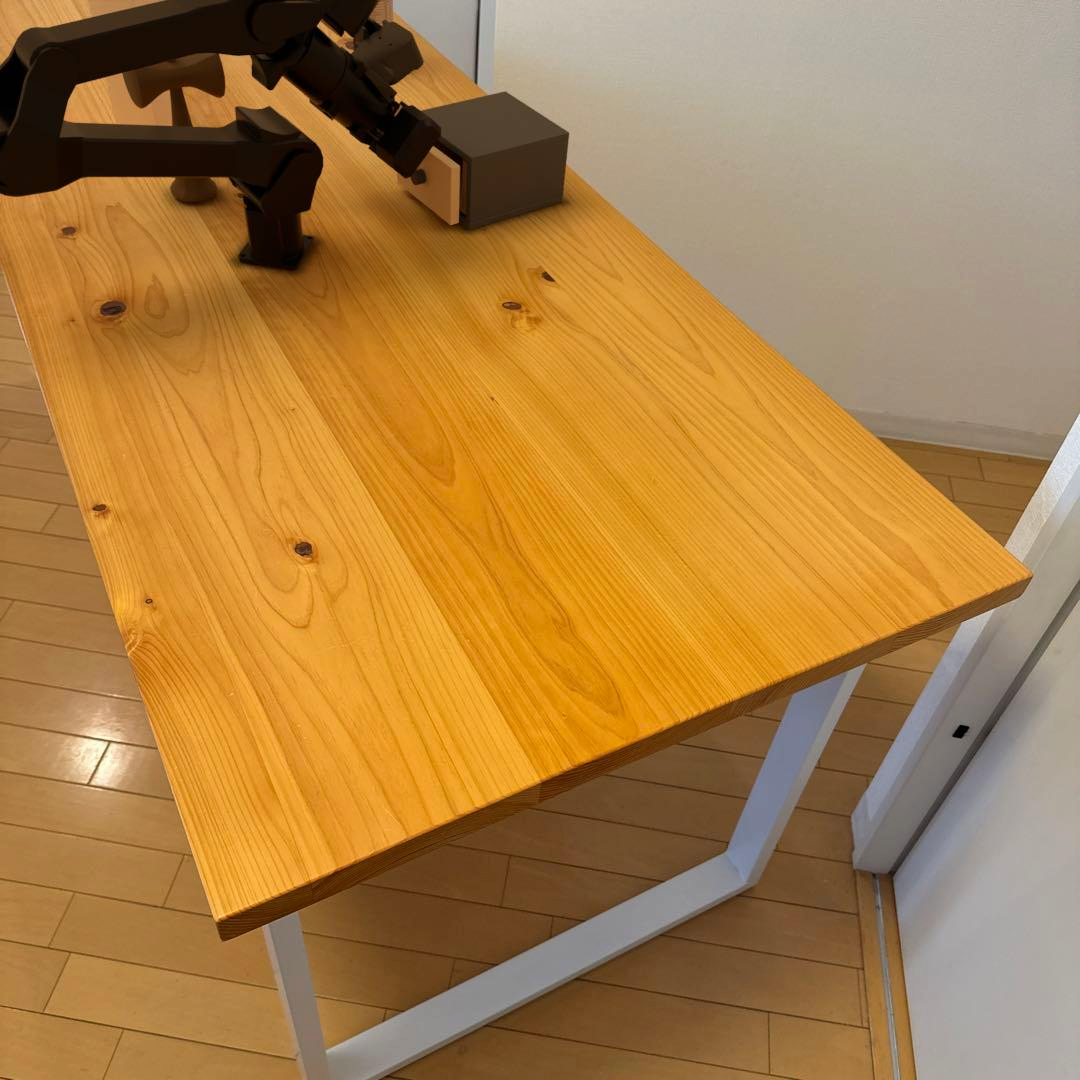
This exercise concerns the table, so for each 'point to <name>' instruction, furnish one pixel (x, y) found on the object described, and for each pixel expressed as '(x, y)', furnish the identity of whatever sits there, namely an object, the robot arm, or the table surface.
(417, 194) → the drawer
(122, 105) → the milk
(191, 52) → the robot arm
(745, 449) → the table surface
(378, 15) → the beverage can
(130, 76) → the kendama
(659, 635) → the table surface
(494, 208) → the cabinet
